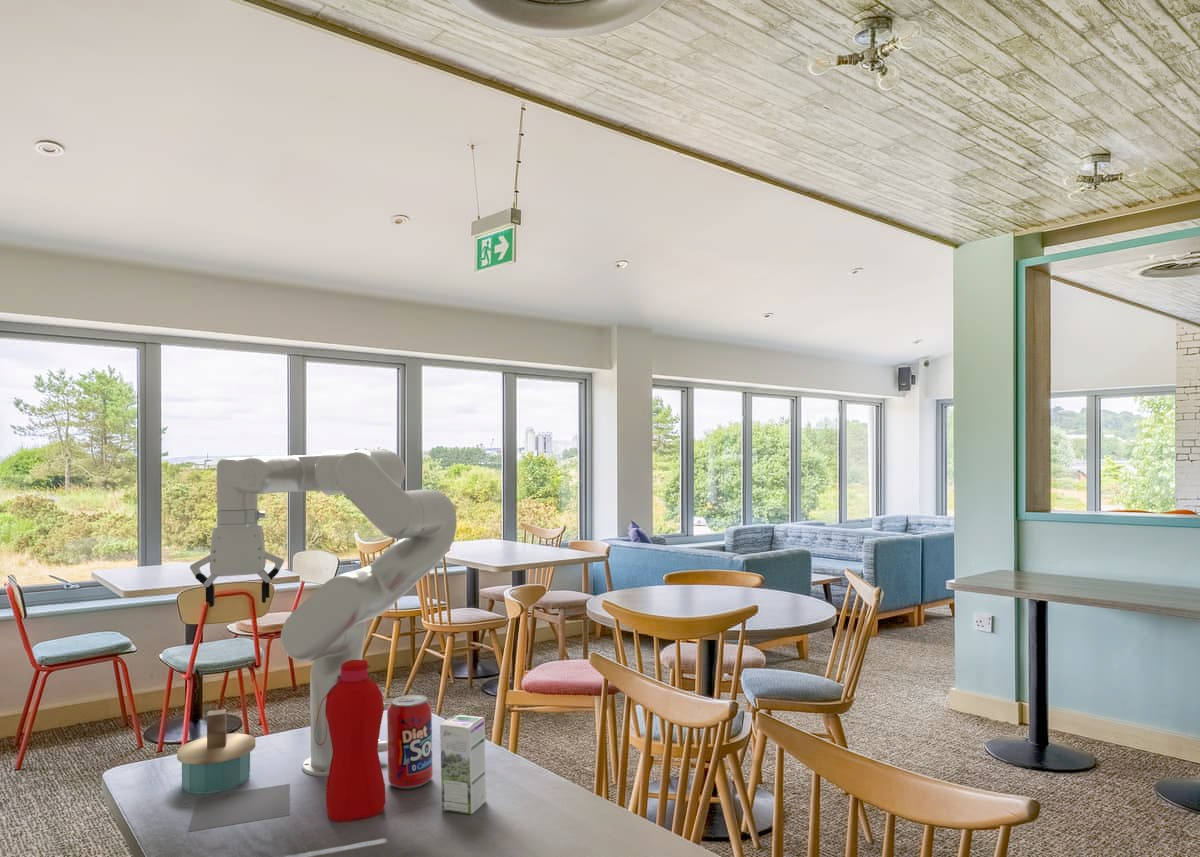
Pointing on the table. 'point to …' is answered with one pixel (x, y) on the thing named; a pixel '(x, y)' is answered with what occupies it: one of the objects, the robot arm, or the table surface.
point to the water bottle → (354, 745)
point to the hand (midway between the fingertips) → (238, 603)
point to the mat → (241, 807)
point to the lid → (216, 743)
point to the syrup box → (463, 764)
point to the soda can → (409, 741)
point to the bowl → (215, 775)
